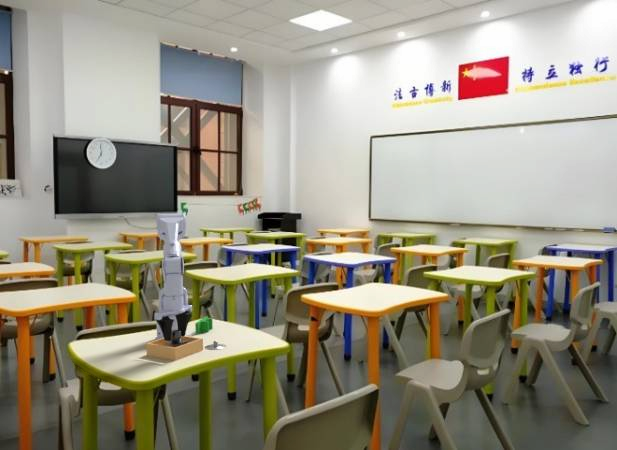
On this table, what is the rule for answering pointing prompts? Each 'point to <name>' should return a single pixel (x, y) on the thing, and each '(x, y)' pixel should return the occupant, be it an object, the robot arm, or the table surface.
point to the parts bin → (174, 348)
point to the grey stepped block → (176, 339)
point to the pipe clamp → (203, 325)
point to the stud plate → (215, 346)
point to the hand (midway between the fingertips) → (174, 338)
